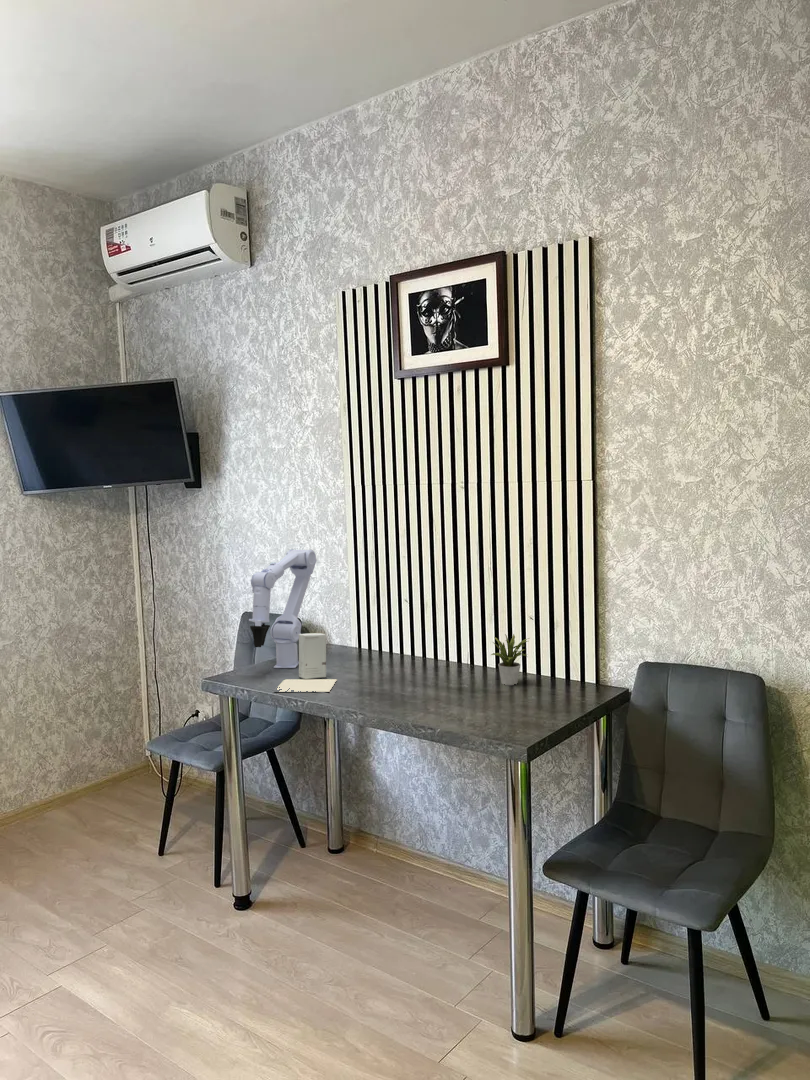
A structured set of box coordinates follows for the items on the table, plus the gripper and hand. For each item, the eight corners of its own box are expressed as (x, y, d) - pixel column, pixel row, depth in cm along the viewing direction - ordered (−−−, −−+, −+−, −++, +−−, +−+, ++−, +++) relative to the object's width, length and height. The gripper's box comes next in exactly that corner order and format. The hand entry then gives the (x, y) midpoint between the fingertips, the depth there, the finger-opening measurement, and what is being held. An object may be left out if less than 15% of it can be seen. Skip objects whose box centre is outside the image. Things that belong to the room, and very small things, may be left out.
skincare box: (304, 679, 267) (303, 635, 267) (298, 676, 273) (297, 633, 272) (327, 677, 271) (326, 633, 271) (321, 674, 276) (320, 631, 276)
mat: (284, 680, 269) (284, 679, 269) (337, 680, 267) (337, 679, 267) (273, 693, 254) (273, 691, 254) (329, 693, 252) (329, 691, 252)
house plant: (537, 689, 250) (536, 638, 249) (493, 690, 250) (492, 639, 249) (529, 677, 265) (529, 629, 263) (488, 679, 265) (487, 630, 263)
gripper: (252, 605, 282) (250, 644, 281) (246, 606, 268) (244, 647, 267) (272, 606, 283) (270, 645, 282) (267, 607, 268) (265, 648, 267)
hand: (259, 646), depth 274 cm, fingers open, 7 cm apart
